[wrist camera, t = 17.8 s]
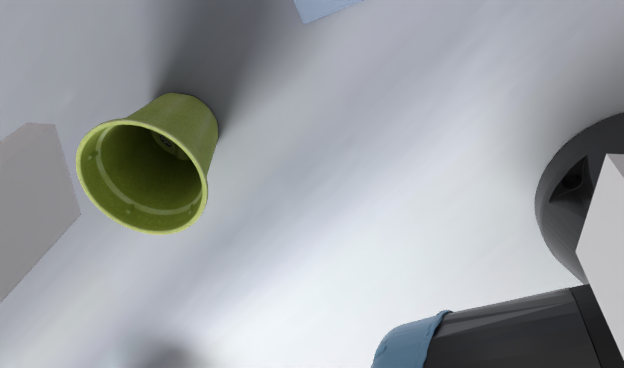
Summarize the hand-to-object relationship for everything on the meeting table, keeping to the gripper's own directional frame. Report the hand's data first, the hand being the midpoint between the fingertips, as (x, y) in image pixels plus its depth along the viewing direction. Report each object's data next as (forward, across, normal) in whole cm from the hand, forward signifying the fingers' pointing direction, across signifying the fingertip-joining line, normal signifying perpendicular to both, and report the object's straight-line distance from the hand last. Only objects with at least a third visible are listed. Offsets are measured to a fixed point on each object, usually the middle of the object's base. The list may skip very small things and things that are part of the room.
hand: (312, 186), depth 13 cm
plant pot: (+27, +15, +12) cm, 33 cm away
